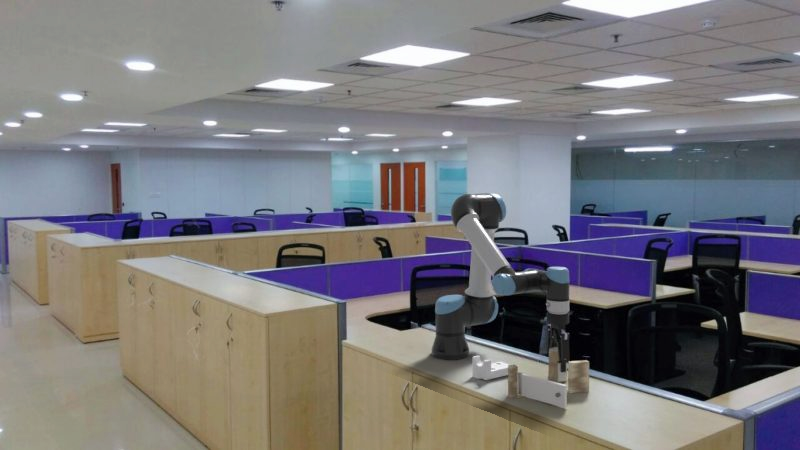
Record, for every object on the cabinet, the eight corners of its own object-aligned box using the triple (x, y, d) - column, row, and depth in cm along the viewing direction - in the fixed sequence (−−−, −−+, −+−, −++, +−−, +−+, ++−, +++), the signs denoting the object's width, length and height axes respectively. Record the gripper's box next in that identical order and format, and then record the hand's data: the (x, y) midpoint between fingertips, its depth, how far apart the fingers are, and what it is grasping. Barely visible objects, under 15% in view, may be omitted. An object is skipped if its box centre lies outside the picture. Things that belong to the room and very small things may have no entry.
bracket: (485, 382, 210) (485, 361, 210) (472, 377, 216) (472, 356, 216) (513, 376, 217) (513, 355, 216) (500, 370, 223) (500, 350, 222)
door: (515, 395, 196) (515, 373, 195) (519, 393, 197) (519, 371, 197) (562, 408, 183) (562, 385, 183) (566, 406, 185) (567, 384, 184)
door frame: (510, 398, 194) (510, 367, 194) (507, 395, 197) (507, 364, 196) (589, 392, 198) (589, 362, 198) (585, 389, 201) (585, 359, 200)
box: (547, 380, 211) (547, 348, 210) (553, 377, 214) (554, 346, 213) (561, 383, 207) (561, 351, 207) (567, 380, 211) (567, 348, 210)
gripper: (536, 306, 218) (536, 369, 220) (559, 318, 199) (559, 387, 201) (556, 305, 219) (556, 368, 221) (580, 317, 200) (580, 385, 202)
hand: (557, 377), depth 211 cm, fingers closed on box, 6 cm apart
